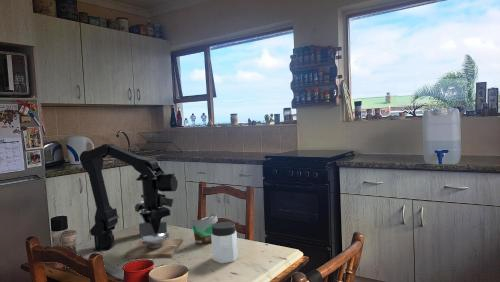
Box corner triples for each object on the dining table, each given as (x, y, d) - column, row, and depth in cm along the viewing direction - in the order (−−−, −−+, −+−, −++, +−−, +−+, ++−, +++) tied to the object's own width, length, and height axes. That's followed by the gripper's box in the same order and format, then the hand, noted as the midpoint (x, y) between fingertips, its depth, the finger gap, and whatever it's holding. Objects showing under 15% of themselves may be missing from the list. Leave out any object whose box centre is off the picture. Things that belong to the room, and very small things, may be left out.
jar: (214, 265, 123) (211, 230, 122) (211, 256, 131) (209, 223, 130) (240, 261, 125) (238, 226, 124) (235, 252, 133) (233, 220, 132)
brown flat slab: (123, 258, 134) (122, 249, 133) (139, 243, 150) (139, 235, 149) (171, 256, 132) (171, 248, 132) (183, 241, 148) (182, 234, 148)
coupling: (139, 246, 135) (138, 227, 135) (141, 238, 144) (139, 221, 143) (169, 242, 138) (167, 224, 137) (168, 235, 146) (167, 218, 146)
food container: (204, 248, 140) (202, 222, 139) (192, 245, 143) (191, 220, 143) (225, 238, 149) (223, 214, 149) (214, 236, 153) (212, 212, 153)
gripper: (181, 190, 138) (184, 231, 139) (158, 185, 152) (161, 222, 153) (154, 196, 130) (157, 239, 131) (132, 190, 145) (136, 228, 146)
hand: (153, 231), depth 141 cm, fingers closed on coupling, 4 cm apart
